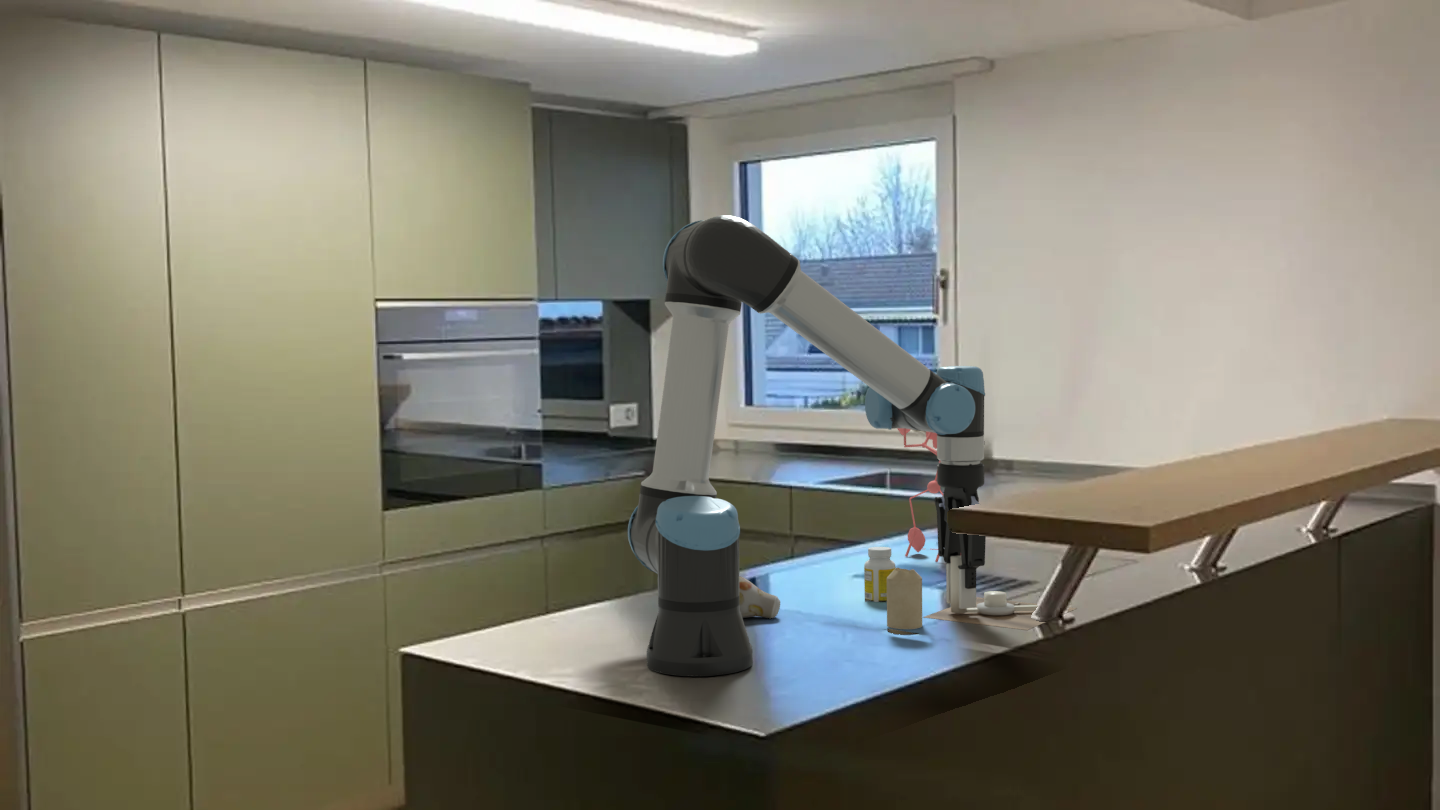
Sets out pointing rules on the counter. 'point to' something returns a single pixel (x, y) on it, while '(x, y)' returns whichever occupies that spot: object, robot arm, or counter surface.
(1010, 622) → the board
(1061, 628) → the counter surface
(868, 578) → the supplement bottle
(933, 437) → the figurine
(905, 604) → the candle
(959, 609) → the handle
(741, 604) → the mug
